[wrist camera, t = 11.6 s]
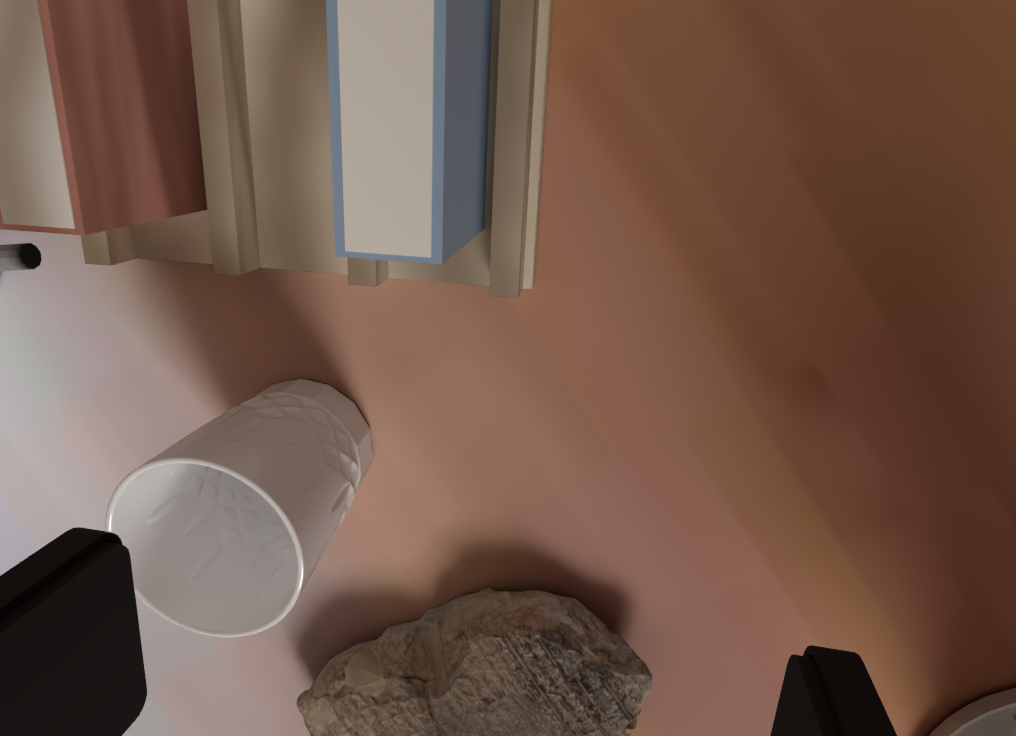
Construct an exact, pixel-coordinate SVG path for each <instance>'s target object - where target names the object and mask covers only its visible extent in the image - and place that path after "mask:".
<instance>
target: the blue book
mask: <svg viewBox="0 0 1016 736" xmlns="http://www.w3.org/2000/svg"><path fill="white" fill-rule="evenodd" d="M492 9H493V0H326V16H327V43H328V71H329V98H330V125H331V153H332V180H333V207H334V235H335V256H337V257H350V258H363V259H376V260H389V261H402V262H416V263H429V264H443V263H444V262H446V261H447V260H448V259H449V258H450V257H452V256H453V255H454V254H455V253H456V252H458V251H459V250H460V249H461V248H462V247H464V246H465V245H466V244H467V243H468V242H470V241H471V240H472V239H473V238H474V237H476V236H477V235H478V234H479V233H480V232H482V231H483V230H484V226H485V199H486V172H487V144H488V117H489V90H490V63H491V36H492Z"/></svg>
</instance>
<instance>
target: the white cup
mask: <svg viewBox="0 0 1016 736" xmlns="http://www.w3.org/2000/svg"><path fill="white" fill-rule="evenodd" d="M372 457H373V453H372V444H371V434H370V428H369V426H368V425H367V423H366V421H365V420H364V418H363V416H362V415H361V413H360V411H359V410H358V408H357V407H356V405H355V403H354V402H352V401H351V400H349V399H348V398H347V397H345V396H344V395H343V394H341V393H340V392H338V391H337V390H336V389H334V388H333V387H331V386H330V385H327V384H323V383H318V382H314V381H310V380H305V379H301V378H300V379H295V380H290V381H286V382H281V383H277V384H273V385H271V386H269V387H268V388H266V389H265V390H263V391H262V392H260V393H259V394H257V395H256V396H254V397H253V398H251V399H249V400H247V401H245V402H243V403H241V404H239V405H237V406H235V407H233V408H231V409H230V410H228V411H227V412H225V413H224V414H222V415H221V416H219V417H217V418H215V419H213V420H211V421H210V422H208V423H206V424H205V425H203V426H202V427H200V428H198V429H197V430H195V431H194V432H192V433H191V434H189V435H188V436H186V437H185V438H183V439H181V440H180V441H178V442H177V443H175V444H174V445H172V446H171V447H169V448H168V449H166V450H165V451H163V452H162V453H160V454H158V455H157V456H155V457H154V458H152V459H151V460H149V461H147V462H146V463H144V464H143V465H141V466H140V467H138V468H136V469H135V470H133V471H132V472H131V473H129V474H128V475H127V476H126V477H125V478H124V479H123V480H122V481H121V482H120V484H119V485H118V486H117V488H116V489H115V491H114V493H113V494H112V497H111V499H110V501H109V504H108V508H107V513H106V522H105V528H106V532H111V533H114V534H117V535H118V536H119V537H120V539H121V540H122V544H123V545H124V546H126V547H127V548H128V550H129V553H130V558H131V566H132V574H133V582H134V590H135V595H136V596H137V597H138V598H139V599H140V600H141V601H142V602H143V603H145V604H146V605H147V606H148V607H149V608H150V609H152V610H153V611H154V612H156V613H157V614H159V615H160V616H162V617H163V618H165V619H166V620H168V621H170V622H172V623H174V624H176V625H178V626H180V627H182V628H185V629H187V630H190V631H193V632H196V633H200V634H204V635H209V636H215V637H241V636H247V635H252V634H255V633H258V632H261V631H264V630H266V629H268V628H270V627H272V626H273V625H275V624H276V623H278V622H279V621H280V620H281V619H283V618H284V617H285V616H286V615H287V614H288V612H289V611H290V610H291V609H292V607H293V606H294V604H295V603H296V601H297V599H298V597H299V596H300V594H301V592H302V590H303V589H304V587H305V585H306V583H307V582H308V580H309V578H310V576H311V575H312V573H313V571H314V570H315V568H316V566H317V565H318V563H319V561H320V559H321V558H322V556H323V554H324V553H325V551H326V549H327V547H328V546H329V544H330V542H331V541H332V539H333V537H334V535H335V533H336V531H337V529H338V527H339V526H340V524H341V522H342V520H343V518H344V516H345V515H346V512H347V511H348V509H349V507H350V505H351V504H352V502H353V500H354V498H355V494H356V491H357V489H358V488H359V486H360V484H361V483H362V481H363V479H364V476H365V474H366V472H367V469H368V467H369V464H370V462H371V459H372Z"/></svg>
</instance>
